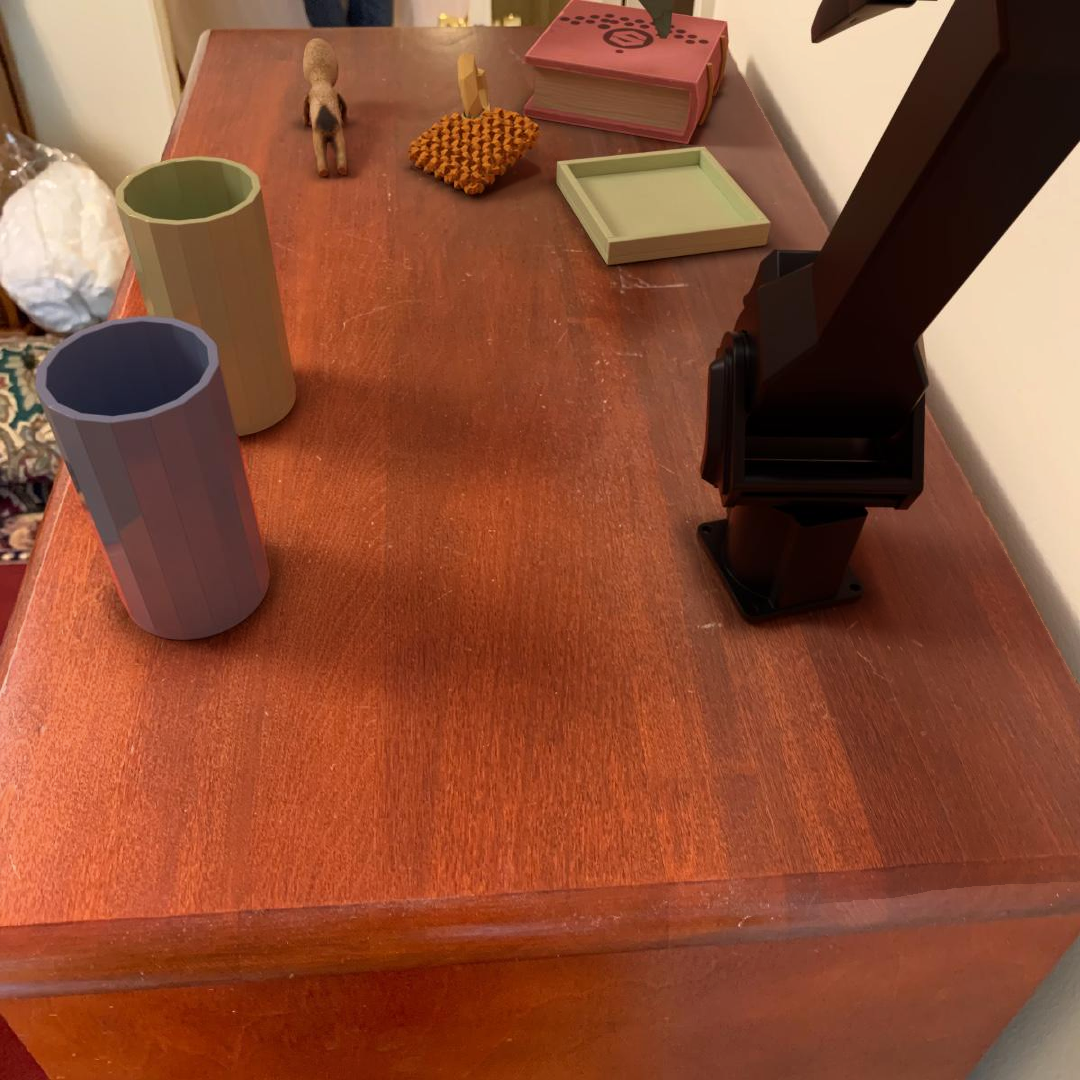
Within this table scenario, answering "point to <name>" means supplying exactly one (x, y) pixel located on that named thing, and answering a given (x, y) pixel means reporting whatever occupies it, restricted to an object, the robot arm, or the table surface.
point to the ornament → (473, 136)
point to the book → (627, 71)
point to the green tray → (660, 205)
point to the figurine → (324, 104)
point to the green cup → (213, 273)
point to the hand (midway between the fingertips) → (738, 33)
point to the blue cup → (159, 471)
